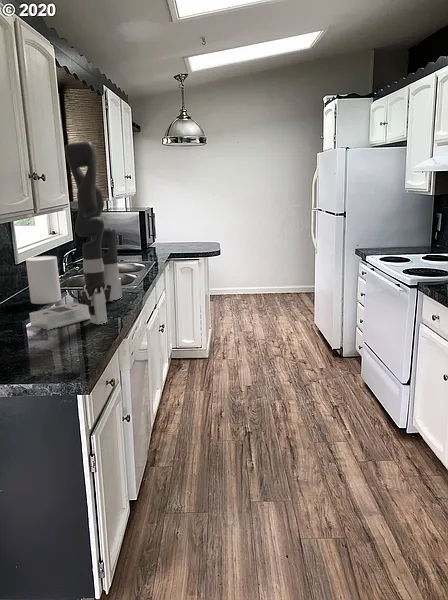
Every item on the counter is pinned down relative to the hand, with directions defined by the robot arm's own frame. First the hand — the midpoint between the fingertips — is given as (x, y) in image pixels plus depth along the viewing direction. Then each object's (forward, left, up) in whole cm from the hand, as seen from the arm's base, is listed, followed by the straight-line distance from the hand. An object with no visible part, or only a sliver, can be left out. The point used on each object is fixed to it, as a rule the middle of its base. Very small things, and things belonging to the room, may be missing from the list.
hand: (97, 313), depth 198 cm
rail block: (+7, -14, -4) cm, 16 cm away
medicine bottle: (-10, -17, -4) cm, 20 cm away
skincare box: (0, 0, -4) cm, 4 cm away
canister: (-11, -53, -4) cm, 54 cm away
